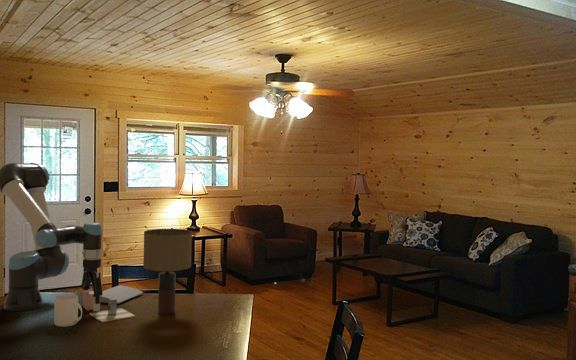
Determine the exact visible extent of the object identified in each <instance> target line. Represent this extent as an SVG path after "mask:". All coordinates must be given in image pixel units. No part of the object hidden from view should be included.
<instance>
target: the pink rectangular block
mask: <svg viewBox="0 0 576 360" xmlns="http://www.w3.org/2000/svg"><path fill="white" fill-rule="evenodd" d="M93 295H94V292H93V290H90V292H82V309H84V308H85V309H84V310H86V311H93Z"/></svg>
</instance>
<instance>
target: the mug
mask: <svg viewBox="0 0 576 360" xmlns="http://www.w3.org/2000/svg"><path fill="white" fill-rule="evenodd" d="M79 310H80V316H79ZM53 313H54V318H53V319H54V325H55V326H56V327H60V328H61V327H62V328H63V327H64V328H66V327H67V328H68V327H72V326H75V325H77V324H78V322H79V321H81V319H82V317H83V307H82V306H81V304H80V303H79V296H78V295H77V294H72V293H71V294H60V295H57V296H54V311H53Z"/></svg>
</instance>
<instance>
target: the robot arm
mask: <svg viewBox="0 0 576 360" xmlns="http://www.w3.org/2000/svg"><path fill="white" fill-rule="evenodd" d="M49 181H50V174H49V170H48V169H47V168H46V166H44V165H42V163H41V164H40V163H36V162H30V163H29V162H27V163H26V162H21V163H20V162H18V163H17V162H10V163H6V164H4V165H3V166H2V167H0V192H1V193H2V194H3V195H4V196H6V197H8V198H9V199H10V200H11V202H12V203H13V204H14V206H15V207H16V208H17V210H18V212H19V213H20V214H21V215H22V217H24V219H25V220H26V222H27V223H28V224H29V225H30V229H31V232H32V233H31V234H32V237H33V241H34V245H35V247H34V248H33V250H27V251H21V252H20V251H19V252H17V253H15V254H12V255H11V256H10V257H9V259H8V292H7V294H6V296H5V299H4V302H3V309H4V310H5V311H9V312H25V311H31V310H32V311H33V310H36V309H39V308H41V307H43V297H42V294H41V291H40V289H39V280H44V279H48V278H55V277H57V276H61V275H63V274H65V272H66V271H67V269H68V267H69V265H70V258H69V255H68V252H66V251H65V250H64V249H62V248H61V246H64V245H65V246H66V245H73V244H81V245H82V250H83V251H82V252H81V253H82V258H83V260H82V268H83V273H82V274H83V275H82V280H81V285H80V286H81V288H82V291H83V292H90V291H91V287H92V291H93V292H94V295H93V310H92V313H93V312H99V311H101V302H100V296H101V295H103V293H102V291H103V287H102V278H101V276H102V275H101V274H102V273H101V272H100V271H98V268H99V269H100V268H101V267H102V259H101V258H102V239H103V238H102V237H103V236H102V235H103V231H102V224H101V223H100V222H85V223H84V224H83V226H80V225H74V224H73V225H71V224H70V225H65V226H64V227H57V226H56V225H55V224H54V223H53V222H52V220H51V217H50V213H49V209H48V205H47V201H46V197H45V192H46V191H47V186H48V184H49V183H50V182H49ZM83 292H82V293H83Z"/></svg>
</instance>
